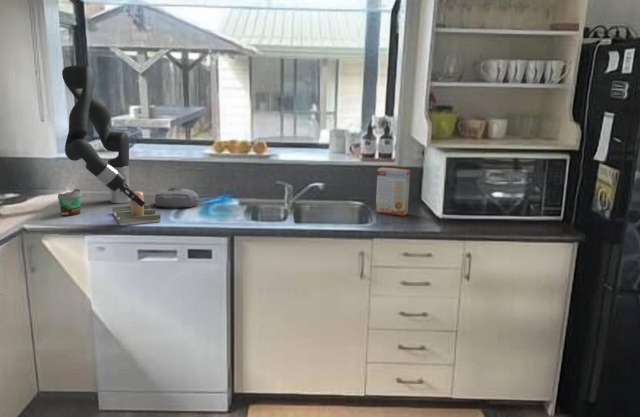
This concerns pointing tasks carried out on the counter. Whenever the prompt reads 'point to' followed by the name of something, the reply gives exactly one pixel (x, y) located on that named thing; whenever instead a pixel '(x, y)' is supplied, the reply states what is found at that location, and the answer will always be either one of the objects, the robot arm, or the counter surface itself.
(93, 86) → the robot arm
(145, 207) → the comb board
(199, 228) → the counter surface
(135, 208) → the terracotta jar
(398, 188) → the cracker box
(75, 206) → the food container
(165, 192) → the soft grey pack
